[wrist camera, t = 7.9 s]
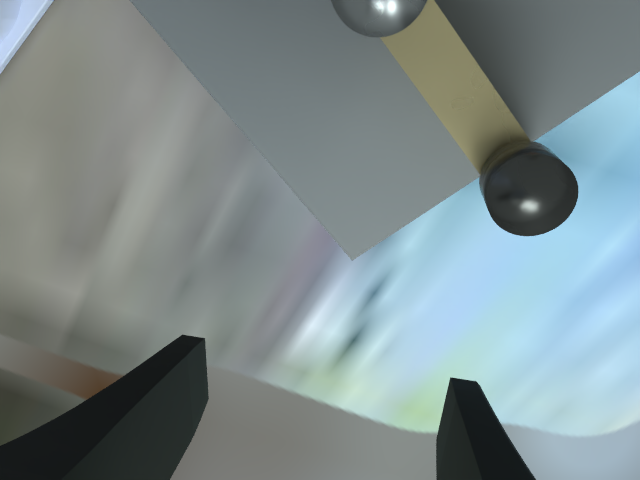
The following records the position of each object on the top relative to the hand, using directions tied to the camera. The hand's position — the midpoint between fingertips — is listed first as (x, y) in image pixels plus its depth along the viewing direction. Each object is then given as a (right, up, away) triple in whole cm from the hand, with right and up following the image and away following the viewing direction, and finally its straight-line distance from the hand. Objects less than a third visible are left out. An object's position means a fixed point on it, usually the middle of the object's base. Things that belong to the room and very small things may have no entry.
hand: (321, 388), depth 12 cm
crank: (+4, +9, +4) cm, 11 cm away
